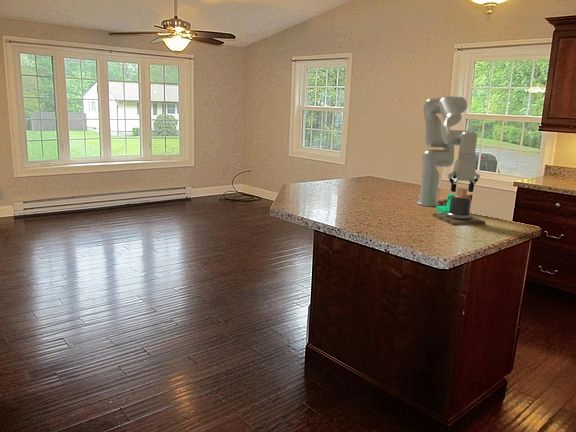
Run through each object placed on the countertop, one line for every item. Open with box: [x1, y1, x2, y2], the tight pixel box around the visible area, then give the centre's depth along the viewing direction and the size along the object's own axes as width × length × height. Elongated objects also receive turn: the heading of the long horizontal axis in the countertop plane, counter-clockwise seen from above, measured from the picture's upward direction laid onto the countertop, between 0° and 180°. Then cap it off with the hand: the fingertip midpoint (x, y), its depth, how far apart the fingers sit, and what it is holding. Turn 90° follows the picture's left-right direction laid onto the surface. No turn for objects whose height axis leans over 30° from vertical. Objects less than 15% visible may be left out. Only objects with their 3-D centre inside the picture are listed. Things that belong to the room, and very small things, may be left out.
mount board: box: [432, 212, 486, 226], centre depth 245 cm, size 18×18×2 cm
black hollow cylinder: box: [446, 196, 473, 220], centre depth 243 cm, size 12×12×10 cm
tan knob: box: [454, 186, 469, 199], centre depth 242 cm, size 6×6×9 cm
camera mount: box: [435, 193, 457, 213], centre depth 260 cm, size 12×8×10 cm, turn 10°
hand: (461, 191), depth 241 cm, fingers open, 9 cm apart
